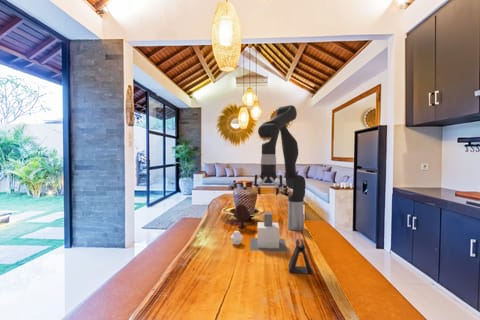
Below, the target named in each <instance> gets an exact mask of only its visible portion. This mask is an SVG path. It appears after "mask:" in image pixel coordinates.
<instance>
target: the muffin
mask: <svg viewBox="0 0 480 320" xmlns="http://www.w3.org/2000/svg"><path fill="white" fill-rule="evenodd" d="M243 237H244V236H243V235H242V234H241V232H240V231H239V230H235V231H233V233H232V234H231V236H230V240H231V242H232V244H233V245H236V246H237V245H240V244H241V243H242V241H243Z"/></svg>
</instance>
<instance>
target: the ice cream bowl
mask: <svg viewBox="0 0 480 320" xmlns="http://www.w3.org/2000/svg"><path fill="white" fill-rule="evenodd" d="M251 215H252V212H251V211H250V210H249V209H248V207H247V206H246V205H245V204H243V203H238V204H237V205H236V207H235V211H233V216H234V218H235V219H236V220H238V221H240V224H239V225H238V226H237V228H238V229H246V228H247V225H245V221H247V220H248V219H250V217H251Z"/></svg>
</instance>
